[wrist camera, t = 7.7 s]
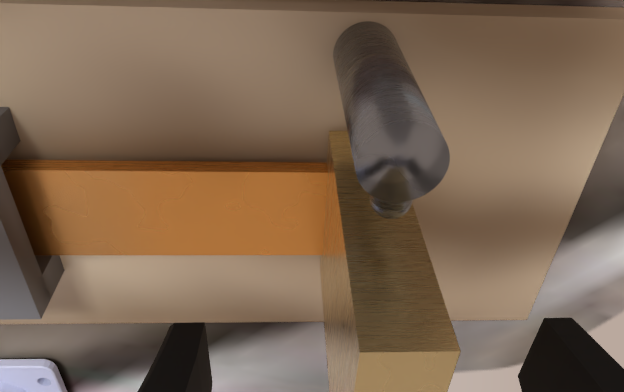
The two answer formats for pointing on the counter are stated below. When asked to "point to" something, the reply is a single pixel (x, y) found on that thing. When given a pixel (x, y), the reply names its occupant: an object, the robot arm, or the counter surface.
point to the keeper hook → (387, 120)
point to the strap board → (301, 139)
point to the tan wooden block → (263, 245)
